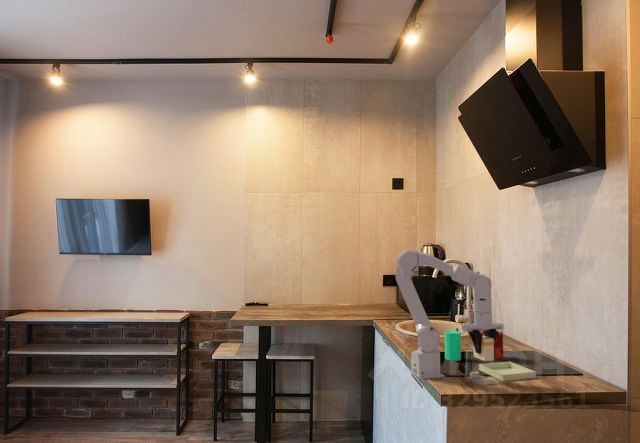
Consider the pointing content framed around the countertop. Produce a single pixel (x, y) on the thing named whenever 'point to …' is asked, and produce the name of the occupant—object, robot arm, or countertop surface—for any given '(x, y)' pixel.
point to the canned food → (498, 346)
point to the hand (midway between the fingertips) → (483, 352)
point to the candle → (453, 345)
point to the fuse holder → (480, 379)
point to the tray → (507, 371)
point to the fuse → (486, 349)
